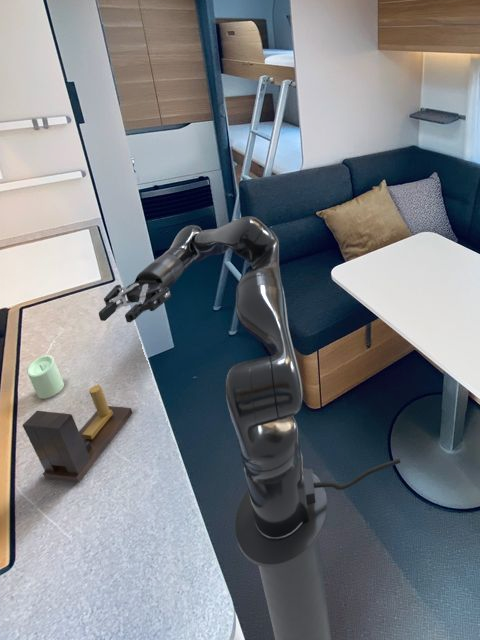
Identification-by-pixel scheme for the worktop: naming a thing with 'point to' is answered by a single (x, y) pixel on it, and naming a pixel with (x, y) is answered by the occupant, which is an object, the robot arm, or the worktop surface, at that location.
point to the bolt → (101, 410)
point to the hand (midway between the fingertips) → (114, 318)
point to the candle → (45, 377)
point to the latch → (70, 442)
